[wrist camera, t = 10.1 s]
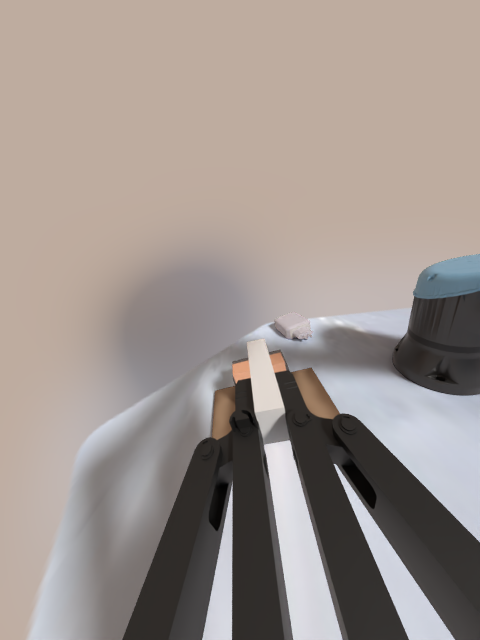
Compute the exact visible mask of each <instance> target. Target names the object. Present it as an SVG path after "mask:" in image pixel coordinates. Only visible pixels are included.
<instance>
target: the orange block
mask: <svg viewBox="0 0 480 640" xmlns="http://www.w3.org/2000/svg"><path fill="white" fill-rule="evenodd" d="M269 356H270V359H271V363H272V366H273V370H274V373H276V372H281V371H286V366H285V361H284V359H283V357H282V355H281V352H280V353H276V354H272V355H269ZM232 365H233V376H234V379H235V382H236V384H237V381H238V380H242V379H247V378H251V375H250V367H249V360H248V361H244V362H240V363H236V364H232Z"/></svg>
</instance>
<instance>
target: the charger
mask: <svg viewBox="0 0 480 640" xmlns="http://www.w3.org/2000/svg"><path fill="white" fill-rule="evenodd" d="M274 322H275V327H276V329H277V330H279V331H280V332H281V333H282V334H283V335H284V336H285V337H286V338H287V339H293V338H295V337H297V338H299V339H304V338H306V339H308V338H307V337H309V336H310V337H312V335H311V334H312V333H313V331H311V330H310V321H309V320H308V319H306V318H304V317H302V316H301V315H299V314H298V313H296V312H291V313H289V314H286V315H283V316H281V317H278V318H276V319H275V320H274Z"/></svg>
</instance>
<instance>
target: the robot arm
mask: <svg viewBox="0 0 480 640" xmlns="http://www.w3.org/2000/svg"><path fill="white" fill-rule="evenodd" d="M413 295H414V301H413V306H412V311H411V315H410V320H409V326H408V330H407V333H406V334H405V335H404V337H403V338H402V339H401V341H400V342H399V343H398V345H397V346H396V347H395V349H394V352H393V359H392V360H393V364H394V366H395V367H396V369H397V370H398V371H399V372H400V373H401V374H402V375H404V376H405V377H406V378H408V379H409V380H411V381H413V382H415V383H417V384H419V385H421V386H424V387H426V388H429V389H432V390H435V391H439V392H443V393H448V394H454V395H477V394H480V254H478V255H477V254H476V255H469V256H463V257H458V258H453V259H449V260H445V261H442V262H439V263H436V264H434V265H431V266H429V267H428V268H426V269H425V270H423V271H422V273H421V274H420V275H419V278H418V281H417V285H416V288H415V290H414V291H413ZM247 350H248V358H249V367H250V375H251V378H247V379H242V380H238V381H237V384H236V386H235V411H234V412H233V413H232V415H231V416H230V419H229V423H230V426H231V428H232V430H231V431H230V432H229V433H228V434H227V435H225V436H223V437H222V438H220V439H218V440H216V439H215V438H212V437H210V438H206V439H204V440H202V441H201V442H200V443H199V444H198V445H197V447H196V449H195V451H194V454H193V456H192V459H191V462H190V464H189V467H188V469H187V472H186V475H185V477H184V480H183V482H182V485H181V488H180V490H179V493H178V496H177V498H176V501H175V503H174V506H173V509H172V511H171V514H170V517H169V519H168V522H167V524H166V527H165V530H164V532H163V535H162V537H161V540H160V543H159V545H158V548H157V551H156V553H155V556H154V558H153V561H152V564H151V566H150V569H149V571H148V574H147V577H146V579H145V582H144V585H143V587H142V590H141V592H140V595H139V598H138V600H137V603H136V606H135V608H134V611H133V613H132V616H131V619H130V621H129V624H128V626H127V629H126V632H125V634H124V637H123V640H202V637H203V632H204V627H205V622H206V617H207V611H208V606H209V601H210V596H211V590H212V585H213V580H214V575H215V570H216V564H217V559H218V554H219V549H220V543H221V538H222V533H223V528H224V523H225V517H226V512H227V507H228V502H229V496H230V491H231V486H232V481H233V551H232V640H293V635H292V629H291V622H290V615H289V608H288V601H287V595H286V588H285V581H284V574H283V567H282V561H281V554H280V547H279V540H278V533H277V526H276V520H275V513H274V506H273V499H272V492H271V486H270V479H269V472H268V465H267V458H266V454H265V450H264V444H269V443H275V442H281V441H287V440H290V442H291V445H292V451H293V456H294V460H295V462H296V466H297V470H298V474H299V477H300V481H301V485H302V489H303V492H304V496H305V500H306V504H307V507H308V511H309V515H310V519H311V522H312V526H313V530H314V534H315V537H316V541H317V545H318V549H319V552H320V556H321V560H322V564H323V567H324V571H325V575H326V579H327V582H328V586H329V590H330V594H331V597H332V601H333V605H334V609H335V612H336V616H337V620H338V624H339V627H340V631H341V635H342V639H343V640H409V639H408V636H407V634H406V632H405V629H404V627H403V625H402V622H401V620H400V618H399V615H398V613H397V611H396V608H395V606H394V604H393V601H392V599H391V597H390V594H389V592H388V590H387V587H386V585H385V583H384V580H383V578H382V576H381V574H380V571H379V569H378V567H377V564H376V562H375V560H374V557H373V555H372V553H371V550H370V548H369V546H368V543H367V541H366V539H365V536H364V534H363V532H362V529H361V527H360V525H359V522H358V520H357V518H356V515H355V513H354V511H353V508H352V506H351V504H350V501H349V499H348V497H347V494H346V492H345V490H344V487H343V485H342V483H341V480H340V478H339V476H338V473H337V471H336V469H335V466H334V464H336V465H337V466H338V468H339V469H340V471H341V472H342V474H343V475H344V476H345V478H346V479H347V481H348V482H349V484H350V485H351V487H352V488H353V490H354V491H355V493H356V494H357V496H358V497H359V499H360V500H361V502H362V503H363V504H364V506H365V507H366V509H367V510H368V512H369V513H370V515H371V516H372V518H373V519H374V521H375V522H376V524H377V525H378V527H379V528H380V530H381V531H382V532H383V534H384V535H385V537H386V538H387V540H388V541H389V543H390V544H391V546H392V547H393V549H394V550H395V552H396V553H397V555H398V556H399V558H400V559H401V560H402V562H403V563H404V565H405V566H406V568H407V569H408V571H409V572H410V574H411V575H412V577H413V578H414V580H415V581H416V583H417V584H418V585H419V587H420V588H421V590H422V591H423V593H424V594H425V596H426V597H427V599H428V600H429V602H430V603H431V605H432V606H433V608H434V609H435V611H436V612H437V613H438V615H439V616H440V618H441V619H442V621H443V622H444V624H445V625H446V627H447V628H448V630H449V631H450V633H451V634H452V636H453V637H454V639H455V640H480V542H479V541H478V540H477V539H476V538H475V537H474V536H473V535H472V534H471V533H470V532H469V531H468V530H467V529H466V528H465V527H464V526H463V525H462V524H461V523H460V522H459V521H458V520H457V519H456V518H455V517H454V516H453V515H452V514H451V513H450V512H449V511H448V510H447V509H446V508H445V507H444V506H443V505H442V504H441V503H440V502H439V501H438V500H437V499H436V498H435V497H434V496H433V495H432V493H431V492H430V491H429V490H428V489H427V488H426V487H425V486H424V485H423V484H422V483H421V482H420V481H419V480H418V479H417V478H416V477H415V476H414V475H413V474H412V473H411V472H410V471H409V470H408V469H407V468H406V467H405V466H404V465H403V464H402V463H401V462H400V461H399V460H398V459H397V458H396V457H395V456H394V455H393V454H392V453H391V452H390V451H389V450H388V449H387V448H386V447H385V446H384V445H383V444H382V443H381V442H380V441H379V440H378V439H377V438H376V437H375V436H374V434H373V433H372V432H371V431H370V430H369V429H368V428H367V427H366V426H365V425H364V424H363V423H362V422H361V421H360V420H358V419H357V418H356V417H354V416H352V415H349V414H338V415H336V416H335V417H334V418H333V419H328V418H322V417H318V416H316V415H314V414H313V413H311V412H310V411H309V410H308V408H307V406H306V404H305V401H304V399H303V397H302V394H301V392H300V390H299V387H298V385H297V382H296V380H295V378H294V375H293V374H292V373H291V372H290V371H289V370H286V371H281V372H276V373H274V370H273V366H272V363H271V359H270V356H269V353H268V349H267V346H266V342H265V339H259V340H254V341H250V342H247Z"/></svg>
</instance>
